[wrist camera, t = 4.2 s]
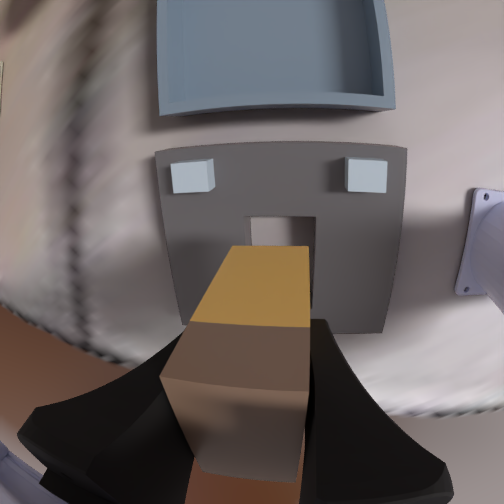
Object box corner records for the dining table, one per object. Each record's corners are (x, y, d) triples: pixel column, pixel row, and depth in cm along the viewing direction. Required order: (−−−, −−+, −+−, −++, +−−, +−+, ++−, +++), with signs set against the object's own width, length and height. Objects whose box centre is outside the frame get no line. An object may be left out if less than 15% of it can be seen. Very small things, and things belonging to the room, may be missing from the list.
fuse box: (395, 145, 15) (415, 150, 12) (376, 316, 20) (385, 344, 17) (168, 148, 17) (144, 154, 15) (191, 309, 22) (176, 335, 19)
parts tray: (359, -47, 10) (366, -69, 7) (380, 111, 15) (395, 109, 12) (178, -35, 12) (160, -53, 9) (181, 116, 16) (159, 115, 14)
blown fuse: (308, 246, 11) (308, 391, 5) (304, 345, 13) (295, 482, 7) (232, 245, 12) (159, 376, 5) (241, 342, 14) (202, 471, 7)
